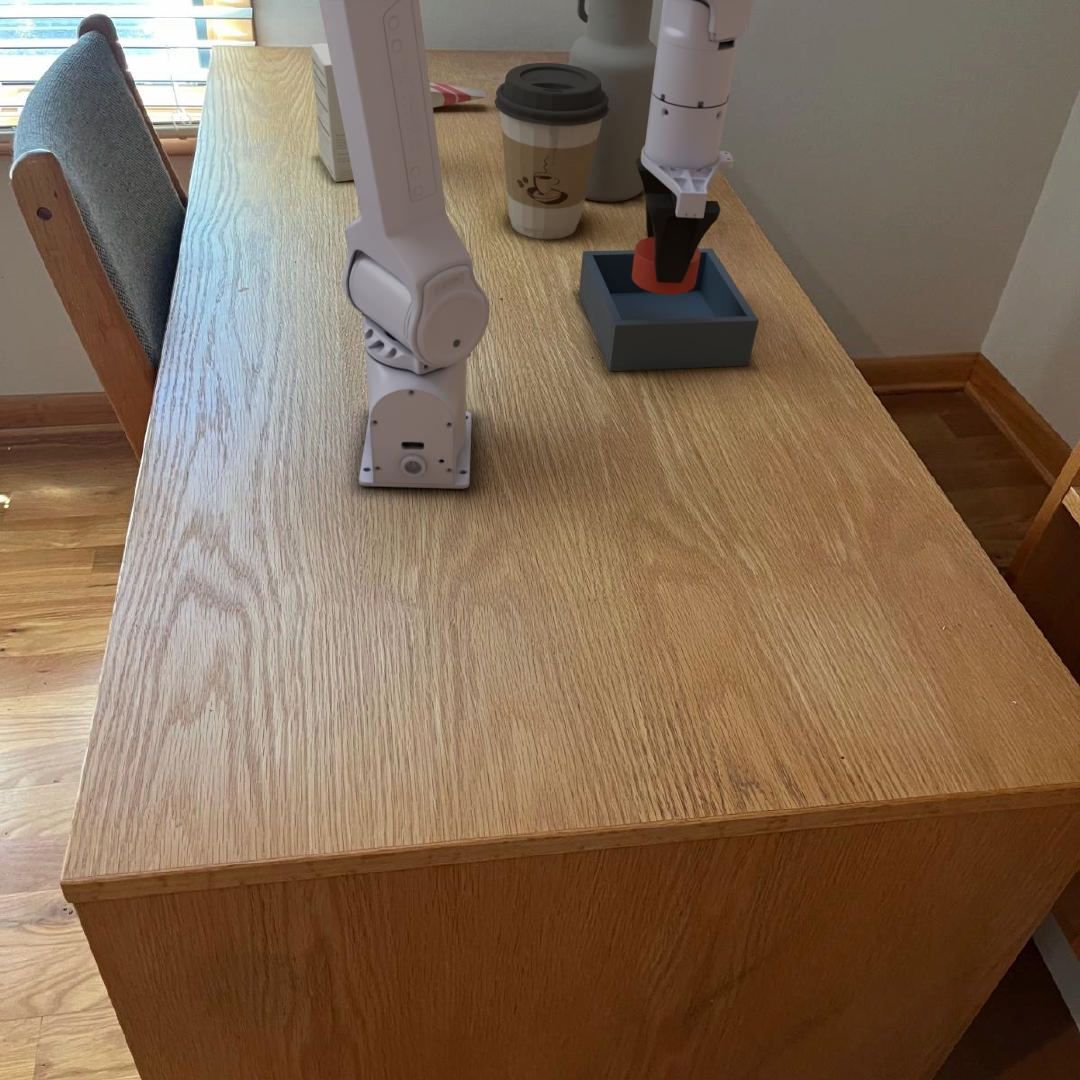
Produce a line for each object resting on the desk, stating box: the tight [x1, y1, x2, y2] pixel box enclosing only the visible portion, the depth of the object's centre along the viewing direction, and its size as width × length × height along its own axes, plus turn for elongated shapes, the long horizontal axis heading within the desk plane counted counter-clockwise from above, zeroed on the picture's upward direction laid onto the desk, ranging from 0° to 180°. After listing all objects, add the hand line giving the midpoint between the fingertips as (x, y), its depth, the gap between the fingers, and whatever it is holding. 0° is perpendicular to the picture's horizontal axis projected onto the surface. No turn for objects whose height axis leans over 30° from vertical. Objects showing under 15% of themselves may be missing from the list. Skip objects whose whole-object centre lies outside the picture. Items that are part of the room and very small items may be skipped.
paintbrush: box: [429, 81, 488, 108], centre depth 132 cm, size 4×3×20 cm
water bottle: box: [568, 0, 657, 203], centre depth 108 cm, size 10×10×28 cm
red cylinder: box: [632, 237, 701, 295], centre depth 85 cm, size 5×5×3 cm
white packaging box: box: [309, 42, 354, 183], centre depth 113 cm, size 7×7×13 cm
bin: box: [578, 247, 760, 372], centre depth 93 cm, size 14×13×4 cm
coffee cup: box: [493, 62, 609, 240], centre depth 104 cm, size 11×11×15 cm
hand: (664, 264), depth 85 cm, fingers closed on red cylinder, 5 cm apart
